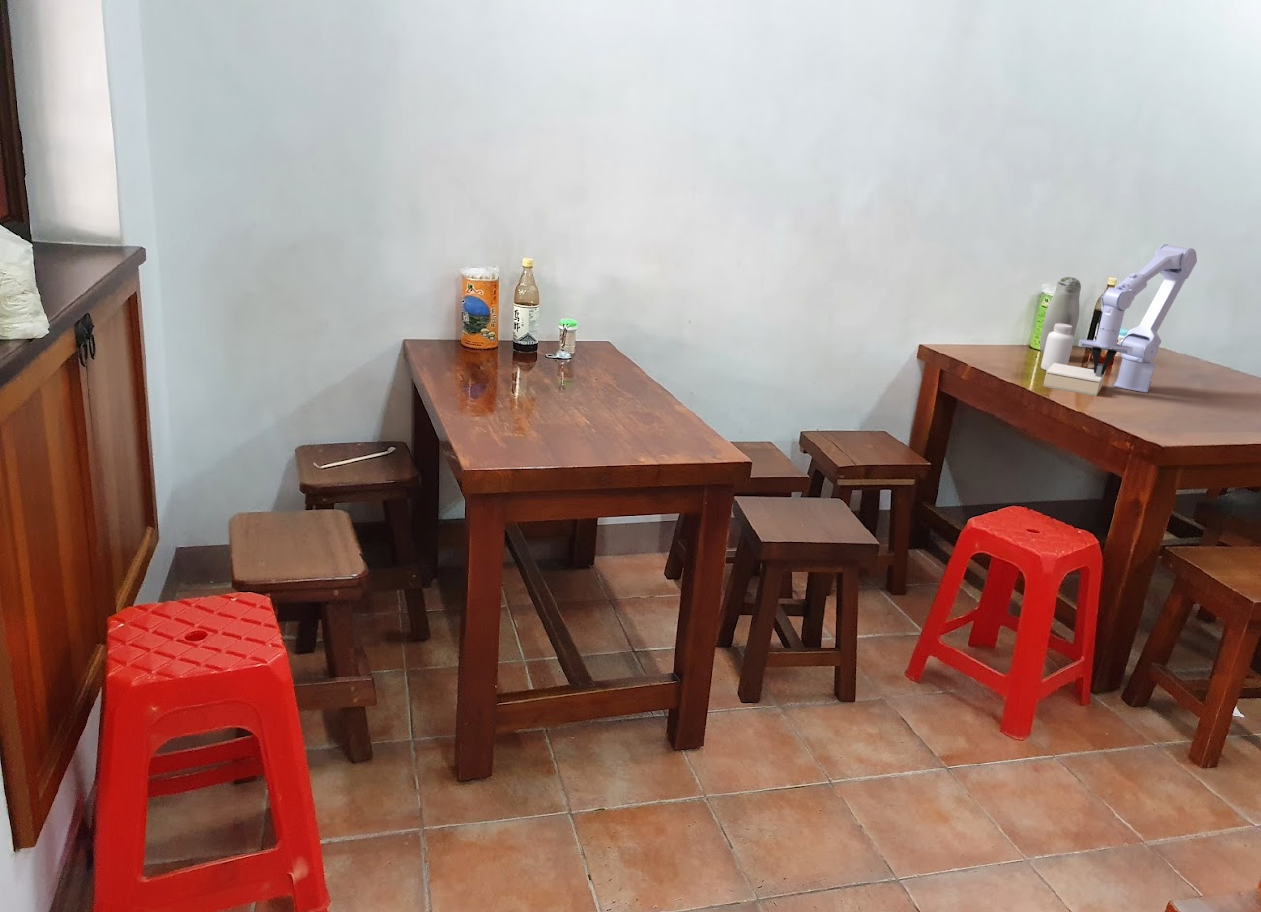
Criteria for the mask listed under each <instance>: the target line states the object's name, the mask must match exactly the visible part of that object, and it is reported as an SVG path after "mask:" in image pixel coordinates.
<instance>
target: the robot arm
mask: <svg viewBox="0 0 1261 912" xmlns="http://www.w3.org/2000/svg"><path fill="white" fill-rule="evenodd" d="M1197 262H1198V258H1197V251H1196V250H1195V248H1191V247H1189V248H1187V247H1184V246H1183V247H1181V246H1176V245H1170V244H1165V243H1164V244H1162V245H1160V246H1159V247H1158V249H1156V250H1155V252H1154V255H1153V258H1152V259H1151V260H1150V261H1149V262H1148V263H1147V264H1145V266H1144V267H1142V269H1140V271H1139V272H1133V273H1132V272H1131V273H1130V274H1129V275H1128V276H1127V277H1125V279H1123V280H1122V281H1121V282H1120V283H1119V284H1117V285H1116V286H1114V287H1110V288H1107V289H1106V290H1105V291H1104V292H1103V294H1102V296H1101V297H1100V303H1101V309H1100V310H1101V318H1100V322H1099V327H1098V331H1097V333H1096V339H1095V340H1092V339H1082V338H1080V339H1079V341H1078V347H1081V348H1082V347H1084V348H1090V349H1091V355H1092V359H1093V370H1094V373H1096V370H1097V366H1098V364H1099V362H1100V358H1101V355H1102V351H1106V353H1105V358H1104V362H1103V364H1104V366H1103V369H1102V372H1101V374H1102V375H1104V373H1105V374H1106V370H1107V368H1108V366H1109V364H1110V363H1111V361H1112V360H1113V359H1114V358H1115V356H1116V355H1117V353H1119V354H1120V357H1121V358H1122V359H1121V363H1120V367H1119V372H1118V375H1117V380H1116V381H1115V382H1114V384H1113V388H1117V389H1124V390H1130V391H1135V392H1141V393H1148V392H1149V390H1150V387H1151V386H1152V382H1153V381H1152V378H1153V375H1154V370H1155V366H1156V363H1155V362H1152V361H1153V360H1154V359H1155V357H1157V355H1158V353H1159V348H1160V345H1161V343H1162V340H1161V338H1160V336H1159V334H1158V331H1159V329H1160V327H1161V325H1162V323H1163V321H1164V320H1165V318H1166V316H1167V315H1168V312H1169V311H1170V309H1171V307H1172V305H1173V304H1174V301H1175V300H1176V298H1177V297H1178V294H1179V293H1180V290H1181V289H1182V287H1183V285H1184V284H1185V282H1186V279H1188V278H1189V277H1190V275H1191V273H1192V272H1193V270H1194V268H1195V266H1196V265H1197ZM1158 274H1161V275H1162V276H1163V281H1162V283H1161V284H1160V287H1159V288H1158V290H1157V292H1156V294H1155V296H1154V298H1153V299H1152V301H1151V303H1150V305H1149V306H1148V308H1147V311H1146V313H1145V315H1144V316H1143V318H1142V320H1141V321H1140V324H1139V325H1137V326H1135V327H1133V328H1130V329H1128V330H1127V333H1126V334H1125V336H1124V337H1123V338H1121V340H1120V342H1119V344H1118V340H1119V335H1120V332H1121V328H1122V324H1123V319H1124V315H1125V311H1126V310H1127V309H1129V308H1130V307H1131V305H1132V303H1133V301H1134V299H1136V298H1135V297H1136V296H1137V295H1139V293H1141V292H1142V291H1143V290H1144V289H1146V288H1147V285H1148V281H1150V280H1151V279H1153V278H1154V277H1155V276H1157V275H1158Z"/></svg>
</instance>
